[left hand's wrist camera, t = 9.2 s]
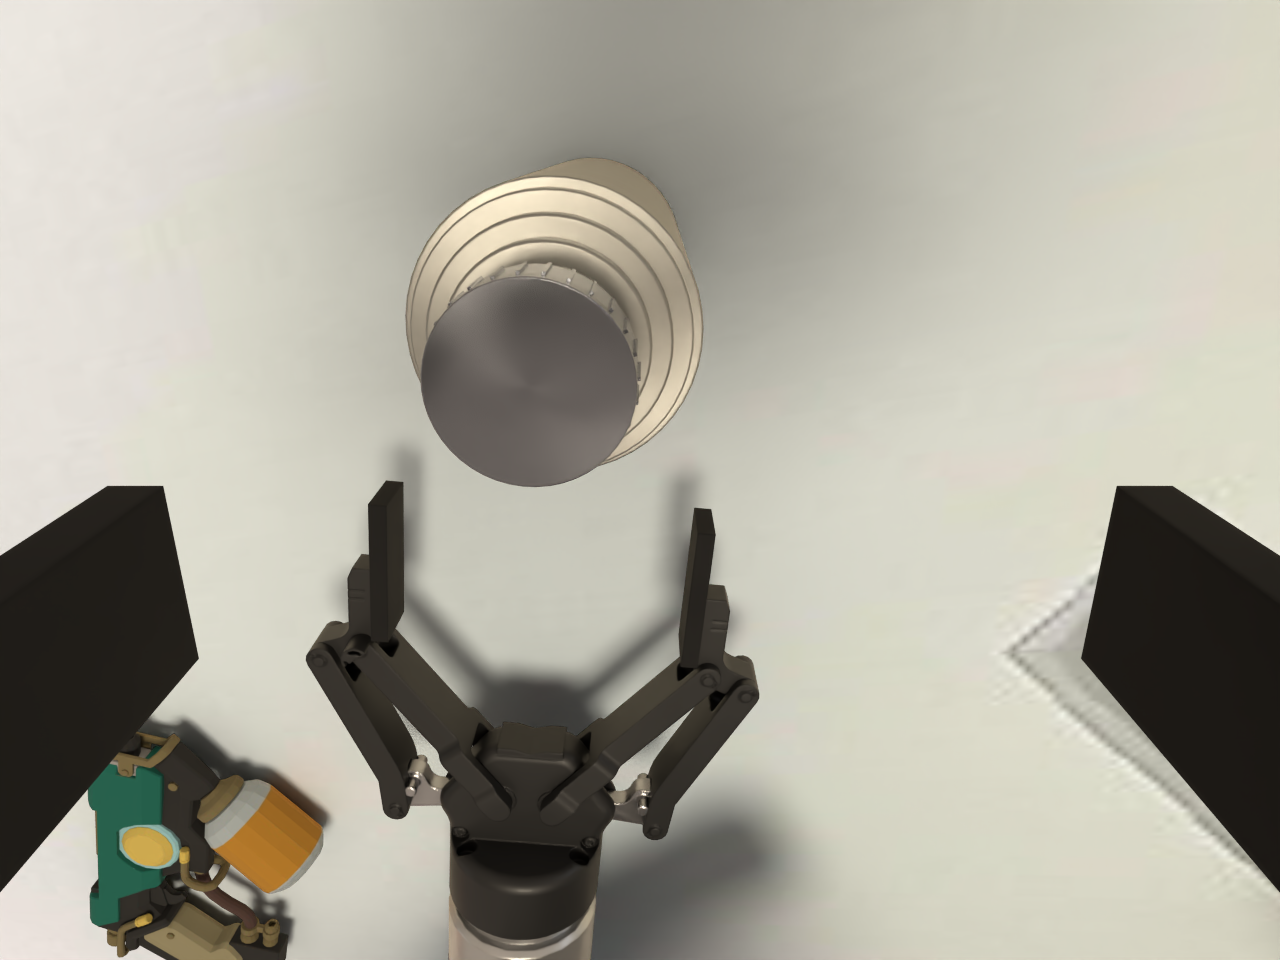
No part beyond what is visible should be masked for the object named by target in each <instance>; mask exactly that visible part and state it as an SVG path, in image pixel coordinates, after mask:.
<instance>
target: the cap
mask: <svg viewBox="0 0 1280 960" xmlns="http://www.w3.org/2000/svg"><path fill="white" fill-rule="evenodd" d="M597 284H598V282H597V281H596V280H595V281H594V282H593V281H591V280H590V279H588V278H587V277H585V276H583V275H581V274H579V273H577V272H576V269H574V268H573V269H572V270H569V269H566V268H563V267H560V266H554V265H552V262H549V263H548V264H534V263H532V264H528V261H524V262H523V263H522V264H521V265H515V266H511V267H507V268H504V266H501V267H500V268H498V269H497V270H496V271H495V272H493V273H492V274H490V275H488V276H486V277H484V278H483V277H482V276H480V277H479V278H478V279H476V280H475V281H474V282H473V283H472V284H471V285H469V286H468V287H467V289H468V290H467V291H466V292H464V291H462V292H461V293H460V294H459V295H457V296H456V297H455V298H454V299H453V300H451V301H450V302H449V303H448V305H449V307H448V308H447V309H446V310H445V311H444V313H443V314H442V315H441V317H440V318H439V319H438V320H437V321H435V323H434V324H433V325H434V327H433V329H432V331H431V333H430V335H429V337H428V340H427V343H426V345H425V348H424V353H423V357H422V362H421V374H420V376H421V391H422V396H423V401H424V405H425V408H426V411H427V414H428V417H429V419H430V421H431V423H432V425H433V427H434V429H435V430H436V432H437V434H438V435H439V437H440V438H441V440H442V441H443V442H444V443H445V445H446V446H447V447H448V448H449V450H450V451H451V452H452V453H454V454H455V455H456V456H457V457H458V458H459V459H460V460H461V461H462V462H464V463H465V464H466V465H468V466H469V467H471V468H472V469H474V470H476V471H477V472H479V473H481V474H482V475H485V476H487V477H489V478H492V479H494V480H497V481H500V482H503V483H507V484H511V485H517V486H526V487H542V486H552V485H556V484H561V483H565V482H568V481H571V480H574V479H576V478H578V477H580V476H582V475H584V474H586V473H588V472H590V471H591V470H593V469H594V468H596V467H597V466H599V465H600V464H601V463H602V462H603V461H605V460H606V459H607V458H608V457H609V456H610V455H611V454H612V452H613V451H614V450H615V449H616V448H617V447H618V445H619V444H620V442H621V441H622V439H623V438H624V436H625V434H626V432H627V430H628V428H630V426H631V421H632V418H633V415H634V412H635V407H636V405H638V403H639V384H638V381H641V362H638V339H635V337H634V335H633V332H632V329H631V327H630V324H629V323H630V319H629V317H628V316H627V317H625V315H624V313H623V312H622V310H621V309H620V307H619V306H618V304H617V303H616V298H615V297H614V296H613V297H611V296H610V295H609V294H608V293H607V292H606V291H605V290H603V289H602V288H601V287H600V286H599V285H597Z"/></svg>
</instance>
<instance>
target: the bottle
mask: <svg viewBox="0 0 1280 960" xmlns="http://www.w3.org/2000/svg"><path fill="white" fill-rule="evenodd" d="M524 261H528V264H532V263H534V264H548V263H549V262H552V265H554V266H560V267H563V268H566V269H569V270H572V269H573V268H574V269H576V272H577V273H579V274H581V275H583V276H585V277H587V278H588V279H590V280H591V281H593V282H594V281H595V280H596V281H597V282H598V284H597V285H599V286H600V287H601V288H602V289H603V290H605V291H606V292H607V293H608V294H609V295H610V296H611V297H613V296H614V297H615V298H616V303H617V304H618V306H619V307H620V309H621V310H622V312H623V313H624V315H625V317H627V316H628V317H629V319H630V323H629V324H630V327H631V329H632V332H633V335H634V337H635V339H638V362H641V381H638V384H639V403H638V405H636V407H635V412H634V415H633V418H632V421H631V426H630V428H628V430H627V432H626V434H625V436H624V438H623V439H622V441H621V442H620V444H619V445H618V447H617V448H616V449H615V450H614V451H613V452H612V454H611V455H610V456H609V457H608V458H607V459H606V460H605V461H603V462H602V463H601V464H600V465H603V464H606V463H609V462H612V461H615V460H617V459H619V458H621V457H623V456H626V455H628V454H630V453H632V452H633V451H635V450H636V449H638V448H639V447H641V446H642V445H644V444H645V443H647V442H648V441H649V440H651V439H652V438H653V437H654V436H655V435H656V434H657V433H659V432H660V431H661V430H662V429H663V428H664V427H665V425H666V424H667V423H668V422H669V421H670V420H671V419H672V418H673V416H674V415H675V413H676V412H677V411H678V409H679V408H680V406H681V405H682V403H683V402H684V400H685V398H686V396H687V394H688V392H689V390H690V388H691V386H692V384H693V381H694V378H695V375H696V372H697V369H698V366H699V361H700V356H701V351H702V342H703V314H702V306H701V301H700V296H699V291H698V287H697V284H696V281H695V278H694V275H693V272H692V269H691V266H690V263H689V260H688V257H687V254H686V251H685V248H684V245H683V242H682V239H681V236H680V233H679V230H678V227H677V224H676V221H675V218H674V215H673V213H672V210H671V208H670V206H669V204H668V203H667V201H666V199H665V198H664V196H663V195H662V193H661V192H660V191H659V190H658V189H657V188H656V186H655V185H654V184H653V183H652V182H651V181H649V180H648V179H647V178H646V177H645V176H643V175H642V174H641V173H639V172H638V171H636V170H635V169H633V168H630V167H628V166H626V165H624V164H622V163H619V162H616V161H613V160H607V159H602V158H582V159H575V160H571V161H566V162H563V163H560V164H557V165H554V166H551V167H548V168H545V169H542V170H539V171H536V172H533V173H530V174H527V175H524V176H521V177H518V178H515V179H512V180H508V181H505V182H503V183H500V184H498V185H495V186H493V187H490V188H488V189H485V190H484V191H482V192H480V193H478V194H477V195H475V196H473V197H471V198H469V199H468V200H467V201H465V202H464V203H463V204H461V205H460V206H459V207H458V208H456V209H455V210H454V211H452V212H451V214H450V215H449V216H448V217H447V218H446V219H445V220H444V221H443V222H442V223H441V224H440V225H439V226H438V227H437V229H436V230H435V231H434V233H433V234H432V236H431V237H430V238H429V240H428V241H427V243H426V245H425V246H424V248H423V250H422V252H421V254H420V256H419V258H418V260H417V263H416V265H415V268H414V271H413V274H412V276H411V280H410V285H409V289H408V294H407V302H406V315H405V317H406V335H407V341H408V346H409V352H410V356H411V359H412V362H413V365H414V368H415V371H416V374H417V376H418V378H419V380H420V382H421V376H420V374H421V362H422V357H423V353H424V348H425V345H426V343H427V340H428V337H429V335H430V333H431V331H432V329H433V327H434V325H433V324H434V323H435V321H437V320H438V319H439V318H440V317H441V315H442V314H443V313H444V311H445V310H446V309H447V308H448V307H449V305H448V303H449V302H450V301H451V300H453V299H454V298H455V297H456V296H457V295H459V294H460V293H461V292H462V291H464V292H466V291H467V290H468V289H467V287H468V286H469V285H471V284H472V283H473V282H474V281H475V280H476V279H478V278H479V277H480V276H482V277H483V278H484V277H486V276H488V275H490V274H492V273H493V272H495V271H496V270H497V269H498V268H500V267H501V266H504V268H507V267H511V266H515V265H521V264H522V263H523V262H524ZM600 465H599V466H600Z"/></svg>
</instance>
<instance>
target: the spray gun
mask: <svg viewBox="0 0 1280 960" xmlns="http://www.w3.org/2000/svg"><path fill="white" fill-rule="evenodd" d="M151 743H152V744H157V745H161V746H163V747H162V748H161V747H160V746H155V747H154V748H153V749H152V750H151ZM200 800H201V805H200ZM88 801H89V805H90V807H91V808H92V810H95V821H96V851H97V855H98V880H97V881H96V882H95V884H94V885H93V886H92V887H91V893H90V919H91V921H92V923H93V924H95V925H97V926H98V927H102V928H105V929H107V930H108V931H107V943H108V944H109V945H111V946H117V956H118V957H124V956H125V955H127V953H128V952H129V951H131V950H135V949H137V948H138V947H139V946H142V947H144V948H146V949H148V950H149V951H151V952H153V953H155V954H157V955H158V956H160V957H162V958H164V959H166V960H285V959H286V952H287V942H288V934H283V933H280V924H279V922H278V920H276V919H270V920H268V921H267V922H266V924H260V923H259V919H258V918H257V917H256V916H255V914H254V912H253V911H252V910H251V909H250V908H249V907H248V906H247V905H245V904H243V903H242V902H240V901H238V900H236V899H234V898H233V897H231V896H230V895H228V894H227V893H225V892H224V891H222V890H221V889H220V888H219V887H218V885H219V884H220V883H221V881H222V880H223V879H224V878H225V876H226V874H227V871H228V869H229V867H230V864H231V865H232V866H234V867H235V868H236V869H237V870H238V871H240V872H241V873H242V874H243V875H244V876H246V877H247V878H248V879H249V880H250V881H252V882H253V883H254V884H255V885H256V886H258V887H259V888H260V889H261V890H262V891H264V892H266V893H269V894H272V893H275V892H279V891H282V890H285V889H287V888H289V887H290V886H292V885H293V884H294V883H295V882H297V881H298V880H299V879H300V878H301V877H302V876H303V875H304V874H305V873H306V871H307V870H308V869H309V868H310V866H311V865H312V864H313V862H314V861H315V860H316V858H317V857H318V855H319V854H320V852H321V849H322V847H323V828H322V826H321V825H319V824H318V823H317V822H316V821H315V820H313V819H312V818H311V817H310V816H309V815H307V814H306V813H305V812H304V811H302V810H301V809H300V808H299V807H298V806H296V805H295V804H294V803H293V802H291V801H290V800H289V799H288V798H287V797H285V796H284V795H283V794H282V793H281V792H279V791H278V790H277V789H276V788H274V787H273V786H272V785H271V784H268V783H266V782H264V781H261V780H249V781H244V780H243V778H241V777H240V776H239V775H233V776H231V777H229V778H226V779H223V780H219V778H218V777H217V776H216V774H215V773H214V772H213V771H212V770H211V769H210V768H209V767H208V766H207V765H206V764H204V763H203V762H202V761H201V760H200V759H199V758H198V757H197V756H196V755H195V754H194V753H193V752H192V751H191V750H190V749H189V748H188V747H187V746H185V745H184V744H183V743H182V742H180V738H179V737H177V736H176V735H175V734H173V735H171V736H170V737H168V738H167V739H166V738H162V737H158V736H153V735H149V734H145V733H140V732H136V733H135V734H134V735H133V737H132V738H131V739H130V740H129V741H128V742H127V744H126V745H125V746H124V747H123V748H122V750H121V751H120V752H119V753H118V754H117V755H116V757H115V758H114V759H113V760H112V761H111V763H110V764H109V765H108V766H107V767H106V768H105V770H104V771H103V772H102V773H101V774H100V775H99V777H98V778H97V779H96V780H95V781H94V783H93V784H92V785H91V786H90V787H89V788H88ZM214 851H216V852H217V853H218V854H219V855H220V856H219V855H214ZM213 864H219V865H220V866H221V868H220V870H219V872H218V873H217V875H216V876H215V877H214V879H213V880H211V878H210V875H209V870H210V868H211V867H212V865H213ZM189 871H193V872H194V873H195V876H196V879H197V880H196V879H194V878H193V877H192V876H191V875H190V872H189ZM175 873H180V874H181V879H182V881H183V882H184V884H186V885H187V886H188V887H190V888H192V889H194V890H197V891H202V892H204V893H205V894H206V895H207V896H208V897H209V898H210V899H211V900H212V901H214V902H215V903H217V904H218V905H219V906H221V907H222V908H224V909H226V910H228V911H229V912H231V913H233V914H235V915H237V916H238V917H239V918H241V919H242V920H243V921H242V923H233V924H231V925H229V926H224V925H222V924H221V923H219V922H218V921H216V920H215V919H213V918H212V917H210V916H209V915H207V914H206V913H204V912H203V911H201V910H199V909H198V908H196V907H195V906H193V905H192V904H190V903H186V902H185V900H186V897H187V895H188V893H187V892H186V891H177V890H174V889H173V888H172V887H171V886H170V885H169V884H168V883H167V881H166V880H165V877H166V876H167V875H171V874H175ZM125 942H126V945H125Z"/></svg>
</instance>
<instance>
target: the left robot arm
mask: <svg viewBox="0 0 1280 960" xmlns="http://www.w3.org/2000/svg"><path fill="white" fill-rule="evenodd" d="M198 659H199V657H198V652H197V647H196V643H195V638H194V633H193V628H192V623H191V618H190V614H189V609H188V604H187V599H186V594H185V589H184V585H183V580H182V575H181V570H180V565H179V560H178V556H177V551H176V546H175V541H174V536H173V531H172V527H171V522H170V517H169V512H168V507H167V502H166V498H165V493H164V488H163V486H107V487H105V488H104V489H102V490H101V491H99V492H97V493H96V494H94V495H93V496H91V497H90V498H88V499H87V500H85V501H84V502H82V503H81V504H79V505H77V506H76V507H74V508H73V509H71V510H70V511H68V512H67V513H65V514H64V515H62V516H61V517H59V518H58V519H56V520H54V521H53V522H51V523H50V524H48V525H47V526H45V527H44V528H42V529H41V530H39V531H38V532H36V533H34V534H33V535H31V536H30V537H28V538H27V539H25V540H24V541H22V542H21V543H19V544H18V545H16V546H14V547H13V548H11V549H10V550H8V551H7V552H5V553H4V554H2V555H1V556H0V892H1V891H2V890H3V888H4V887H5V886H6V885H7V884H8V883H9V881H10V880H11V879H12V878H13V877H14V875H15V874H16V873H17V872H18V871H19V870H20V868H21V867H22V866H23V865H24V864H25V863H26V861H27V860H28V859H29V858H30V857H31V855H32V854H33V853H34V852H35V851H36V850H37V848H38V847H39V846H40V845H41V844H42V843H43V841H44V840H45V839H46V838H47V837H48V835H49V834H50V833H51V832H52V831H53V830H54V828H55V827H56V826H57V825H58V824H59V823H60V821H61V820H62V819H63V818H64V817H65V815H66V814H67V813H68V812H69V811H70V810H71V808H72V807H73V806H74V805H75V804H76V803H77V801H78V800H79V799H80V798H81V797H82V795H83V794H84V793H85V792H86V791H87V790H88V788H89V787H90V786H91V785H92V784H93V783H94V781H95V780H96V779H97V778H98V777H99V775H100V774H101V773H102V772H103V771H104V770H105V768H106V767H107V766H108V765H109V764H110V763H111V761H112V760H113V759H114V758H115V757H116V755H117V754H118V753H119V752H120V751H121V750H122V748H123V747H124V746H125V745H126V744H127V742H128V741H129V740H130V739H131V738H132V737H133V735H134V734H135V733H136V732H137V731H138V730H139V728H140V727H141V726H142V725H143V724H144V722H145V721H146V720H147V719H148V718H149V717H150V715H151V714H152V713H153V712H154V711H155V710H156V708H157V707H158V706H159V705H160V704H161V702H162V701H163V700H164V699H165V698H166V697H167V695H168V694H169V693H170V692H171V691H172V690H173V688H174V687H175V686H176V685H177V684H178V682H179V681H180V680H181V679H182V678H183V677H184V675H185V674H186V673H187V672H188V671H189V670H190V668H191V667H192V666H193V665H194V664H195V662H196V661H197V660H198ZM1081 659H1082V660H1083V661H1084V662H1085V664H1086V665H1087V666H1088V667H1089V668H1090V670H1091V671H1092V672H1093V673H1094V674H1095V675H1096V677H1097V678H1098V679H1099V680H1100V681H1101V682H1102V684H1103V685H1104V686H1105V687H1106V688H1107V690H1108V691H1109V692H1110V693H1111V694H1112V695H1113V697H1114V698H1115V699H1116V700H1117V701H1118V702H1119V704H1120V705H1121V706H1122V707H1123V708H1124V710H1125V711H1126V712H1127V713H1128V714H1129V715H1130V717H1131V718H1132V719H1133V720H1134V721H1135V722H1136V724H1137V725H1138V726H1139V727H1140V728H1141V730H1142V731H1143V732H1144V733H1145V734H1146V735H1147V737H1148V738H1149V739H1150V740H1151V741H1152V743H1153V744H1154V745H1155V746H1156V747H1157V748H1158V750H1159V751H1160V752H1161V753H1162V754H1163V755H1164V757H1165V758H1166V759H1167V760H1168V761H1169V763H1170V764H1171V765H1172V766H1173V767H1174V768H1175V770H1176V771H1177V772H1178V773H1179V774H1180V775H1181V777H1182V778H1183V779H1184V780H1185V781H1186V783H1187V784H1188V785H1189V786H1190V787H1191V788H1192V790H1193V791H1194V792H1195V793H1196V794H1197V795H1198V797H1199V798H1200V799H1201V800H1202V801H1203V803H1204V804H1205V805H1206V806H1207V807H1208V808H1209V810H1210V811H1211V812H1212V813H1213V814H1214V815H1215V817H1216V818H1217V819H1218V820H1219V821H1220V823H1221V824H1222V825H1223V826H1224V827H1225V828H1226V830H1227V831H1228V832H1229V833H1230V834H1231V835H1232V837H1233V838H1234V839H1235V840H1236V841H1237V843H1238V844H1239V845H1240V846H1241V847H1242V848H1243V850H1244V851H1245V852H1246V853H1247V854H1248V855H1249V857H1250V858H1251V859H1252V860H1253V861H1254V863H1255V864H1256V865H1257V866H1258V867H1259V868H1260V870H1261V871H1262V872H1263V873H1264V874H1265V875H1266V877H1267V878H1268V879H1269V880H1270V881H1271V883H1272V884H1273V885H1274V886H1275V887H1276V888H1277V890H1278V891H1279V892H1280V556H1279V555H1278V554H1276V553H1275V552H1273V551H1272V550H1270V549H1269V548H1267V547H1266V546H1264V545H1262V544H1261V543H1259V542H1258V541H1256V540H1255V539H1253V538H1252V537H1250V536H1249V535H1247V534H1246V533H1244V532H1242V531H1241V530H1239V529H1238V528H1236V527H1235V526H1233V525H1232V524H1230V523H1229V522H1227V521H1226V520H1224V519H1222V518H1221V517H1219V516H1218V515H1216V514H1215V513H1213V512H1212V511H1210V510H1209V509H1207V508H1206V507H1204V506H1202V505H1201V504H1199V503H1198V502H1196V501H1195V500H1193V499H1192V498H1190V497H1189V496H1187V495H1186V494H1184V493H1183V492H1181V491H1179V490H1178V489H1176V488H1175V487H1173V486H1117V488H1116V493H1115V498H1114V502H1113V507H1112V512H1111V517H1110V522H1109V527H1108V531H1107V536H1106V541H1105V546H1104V551H1103V556H1102V560H1101V565H1100V570H1099V575H1098V580H1097V585H1096V589H1095V594H1094V599H1093V604H1092V609H1091V614H1090V618H1089V623H1088V628H1087V633H1086V638H1085V643H1084V647H1083V652H1082V657H1081Z"/></svg>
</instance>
